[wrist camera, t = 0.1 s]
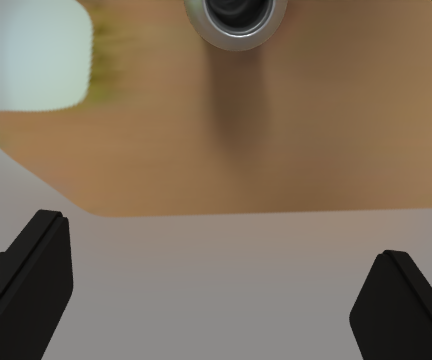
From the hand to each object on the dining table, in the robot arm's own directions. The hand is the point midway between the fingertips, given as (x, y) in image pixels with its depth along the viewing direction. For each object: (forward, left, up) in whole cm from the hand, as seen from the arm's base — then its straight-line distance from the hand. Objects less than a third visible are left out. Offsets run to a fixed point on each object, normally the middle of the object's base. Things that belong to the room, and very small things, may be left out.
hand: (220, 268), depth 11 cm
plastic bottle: (-7, 0, -31) cm, 32 cm away
